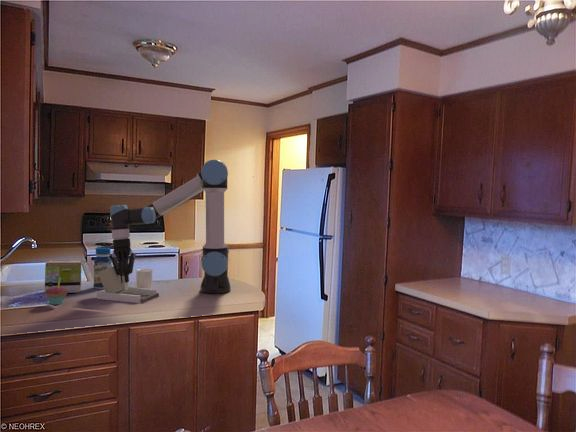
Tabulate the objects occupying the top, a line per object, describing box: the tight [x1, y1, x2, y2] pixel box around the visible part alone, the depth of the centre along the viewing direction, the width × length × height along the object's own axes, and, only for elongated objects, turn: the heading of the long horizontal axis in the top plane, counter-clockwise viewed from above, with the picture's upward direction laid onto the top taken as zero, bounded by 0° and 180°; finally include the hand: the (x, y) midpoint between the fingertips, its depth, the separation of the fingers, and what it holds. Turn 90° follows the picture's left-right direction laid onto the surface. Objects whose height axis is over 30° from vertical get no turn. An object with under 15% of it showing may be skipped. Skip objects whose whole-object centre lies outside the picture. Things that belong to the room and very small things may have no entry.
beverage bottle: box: [93, 246, 113, 290], centre depth 215 cm, size 8×8×20 cm
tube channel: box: [96, 286, 157, 304], centre depth 197 cm, size 21×15×3 cm
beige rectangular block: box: [98, 266, 124, 294], centre depth 197 cm, size 9×9×12 cm
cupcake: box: [44, 278, 68, 306], centre depth 181 cm, size 9×8×12 cm
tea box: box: [44, 259, 83, 294], centre depth 203 cm, size 15×10×15 cm, turn 114°
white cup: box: [135, 268, 154, 289], centre depth 212 cm, size 8×8×10 cm
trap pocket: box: [140, 292, 160, 304], centre depth 195 cm, size 6×14×2 cm, turn 168°
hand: (125, 289), depth 196 cm, fingers closed
